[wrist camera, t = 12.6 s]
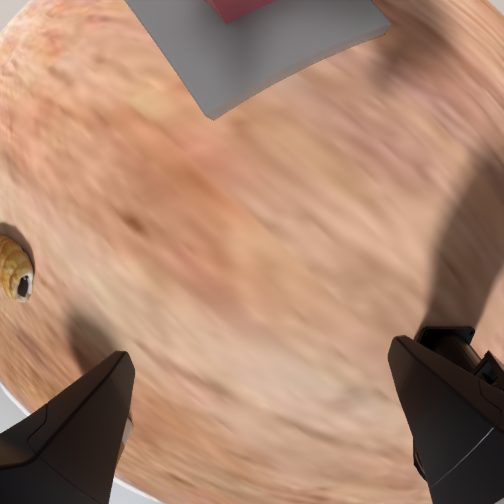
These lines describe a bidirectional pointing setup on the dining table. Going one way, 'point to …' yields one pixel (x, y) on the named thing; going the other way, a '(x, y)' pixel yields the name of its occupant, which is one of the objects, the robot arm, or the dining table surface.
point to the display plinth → (252, 43)
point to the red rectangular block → (235, 8)
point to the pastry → (15, 270)
